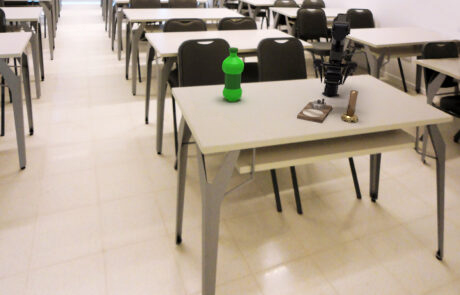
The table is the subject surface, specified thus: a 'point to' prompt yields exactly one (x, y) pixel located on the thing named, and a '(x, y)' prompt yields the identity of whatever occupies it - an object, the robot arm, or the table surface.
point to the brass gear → (351, 108)
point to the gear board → (315, 111)
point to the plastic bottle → (232, 75)
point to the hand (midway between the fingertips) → (332, 83)
